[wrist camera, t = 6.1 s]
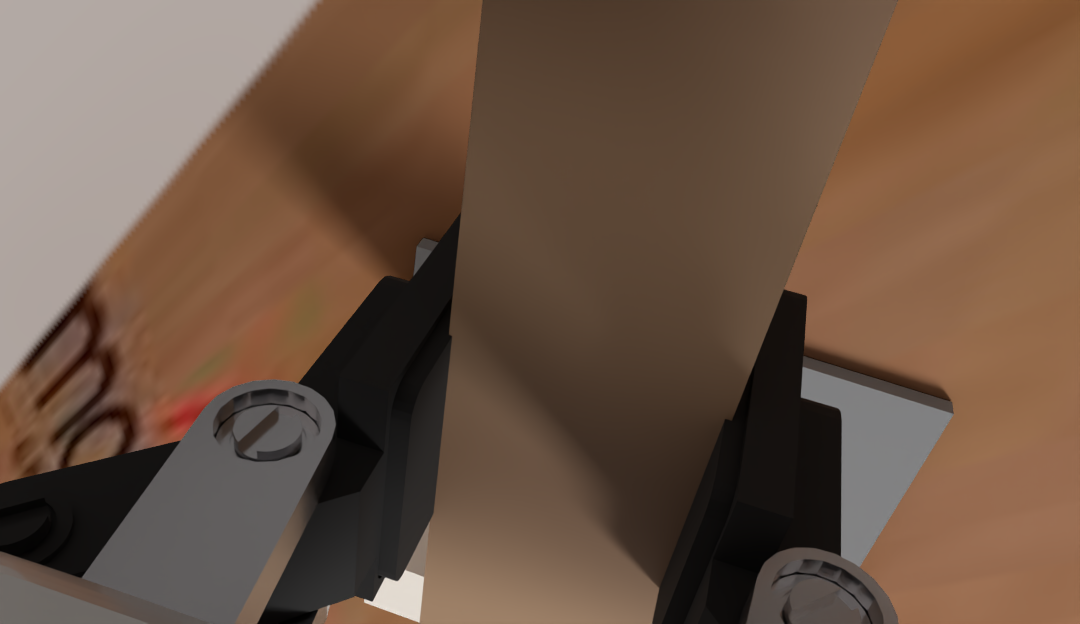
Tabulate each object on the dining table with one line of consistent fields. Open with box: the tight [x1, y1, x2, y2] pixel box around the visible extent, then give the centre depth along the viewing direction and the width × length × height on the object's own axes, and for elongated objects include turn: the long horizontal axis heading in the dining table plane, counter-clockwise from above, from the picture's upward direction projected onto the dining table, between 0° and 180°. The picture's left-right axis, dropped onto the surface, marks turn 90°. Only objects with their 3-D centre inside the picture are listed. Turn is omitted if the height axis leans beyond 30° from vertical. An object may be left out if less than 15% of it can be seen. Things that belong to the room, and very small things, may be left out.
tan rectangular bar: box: [419, 0, 898, 624], centre depth 12 cm, size 18×3×4 cm, turn 171°
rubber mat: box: [413, 238, 954, 567], centre depth 35 cm, size 16×18×1 cm
